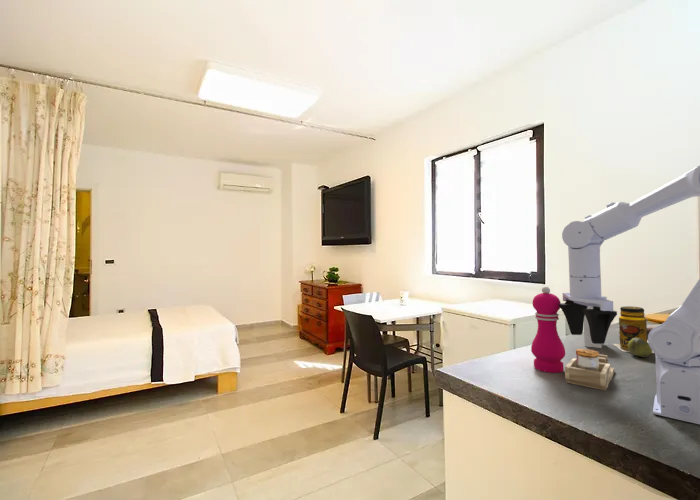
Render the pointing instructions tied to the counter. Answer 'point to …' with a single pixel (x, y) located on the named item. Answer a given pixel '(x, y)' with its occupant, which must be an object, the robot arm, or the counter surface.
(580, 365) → the small glass jar
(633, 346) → the lime
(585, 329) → the skincare box
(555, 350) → the pepper mill
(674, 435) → the counter surface
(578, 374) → the mount
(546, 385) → the counter surface
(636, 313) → the condiment
